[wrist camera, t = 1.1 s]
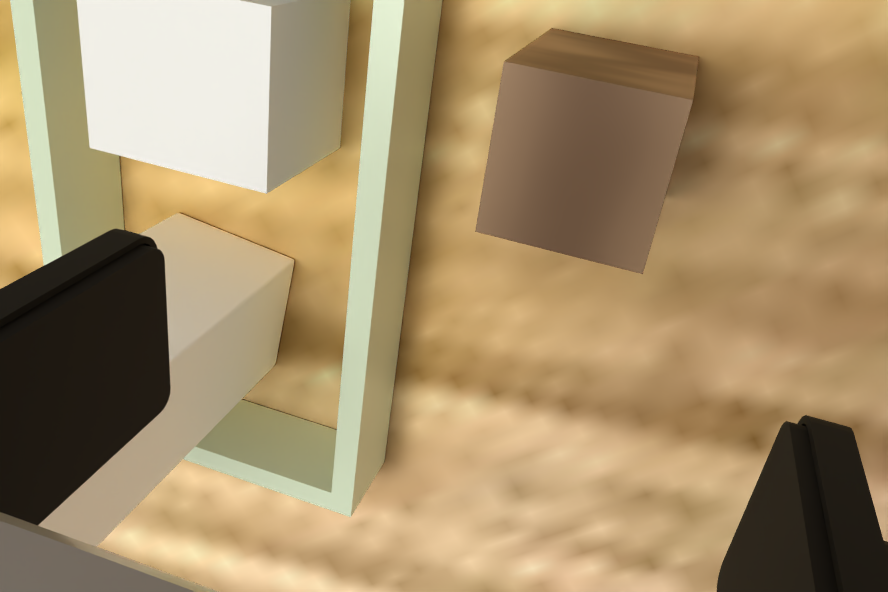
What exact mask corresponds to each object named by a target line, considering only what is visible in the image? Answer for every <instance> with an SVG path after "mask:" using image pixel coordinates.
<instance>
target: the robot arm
mask: <svg viewBox="0 0 888 592" xmlns="http://www.w3.org/2000/svg"><path fill="white" fill-rule="evenodd" d="M170 389H171V386H170V365H169V343H168V321H167V300H166V278H165V259H164V255H163V253H162V251H161V250H159V249H157V245H156V243H155V241H154V240H153V239H152V238H150V237H147V236H144V235H140V234H136V233H133V232H129V231H125V230H122V229H112V230H110V231H108V232H106V233H104V234H102V235H100V236H98V237H97V238H95V239H93V240H91V241H89V242H87V243H85V244H83V245H82V246H80V247H78V248H76V249H74V250H72V251H70V252H69V253H67V254H65V255H63V256H61V257H59V258H57V259H56V260H54V261H52V262H50V263H48V264H46V265H44V266H43V267H41V268H39V269H37V270H35V271H33V272H31V273H30V274H28V275H26V276H24V277H22V278H20V279H18V280H17V281H15V282H13V283H11V284H9V285H7V286H5V287H3V288H2V289H0V592H219V591H216V590H213V589H211V588H208V587H205V586H202V585H200V584H197V583H194V582H191V581H189V580H186V579H183V578H181V577H178V576H175V575H172V574H170V573H167V572H164V571H161V570H159V569H156V568H153V567H150V566H148V565H145V564H142V563H140V562H137V561H134V560H131V559H129V558H126V557H123V556H120V555H118V554H115V553H112V552H109V551H107V550H104V549H101V548H98V547H96V546H93V545H90V544H87V543H84V542H82V541H79V540H76V539H73V538H71V537H68V536H65V535H62V534H59V533H57V532H54V531H51V530H48V529H46V528H43V527H40V526H38V525H39V524H40V523H41V522H42V521H43V520H45V519H46V518H47V517H48V516H49V515H50V514H51V513H52V512H53V511H54V510H55V509H56V508H58V507H59V506H60V505H61V504H62V503H63V502H64V501H65V500H66V499H67V498H68V497H70V496H71V495H72V494H73V493H74V492H75V491H76V490H77V489H78V488H79V487H80V486H81V485H83V484H84V483H85V482H86V481H87V480H88V479H89V478H90V477H91V476H92V475H93V474H95V473H96V472H97V471H98V470H99V469H100V468H101V467H102V466H103V465H104V464H105V463H106V462H108V461H109V460H110V459H111V458H112V457H113V456H114V455H115V454H116V453H117V452H118V451H120V450H121V449H122V448H123V447H124V446H125V445H126V444H127V443H128V442H129V441H130V440H131V439H133V438H134V437H135V436H136V435H137V434H138V433H139V432H140V431H141V430H142V429H143V428H145V427H146V426H147V425H148V424H149V423H150V422H151V421H152V420H153V419H154V418H155V417H156V416H158V415H159V414H160V413H161V412H162V410H163V409H164V408H165V406H166V404H167V402H168V400H169V396H170ZM717 592H888V542H886V541H883V537H882V534H881V530H880V527H879V523H878V519H877V516H876V512H875V508H874V505H873V501H872V498H871V494H870V490H869V487H868V483H867V480H866V476H865V472H864V469H863V465H862V461H861V458H860V454H859V451H858V447H857V443H856V440H855V436H854V433H853V431H852V429H851V428H850V427H847V426H843V425H840V424H836V423H832V422H829V421H825V420H821V419H818V418H814V417H810V416H807V415H805V416H803V417H802V418H801V419H800V421H799V422H798V424H795V423H791V422H787V421H786V422H784V424H783V425H782V426H781V428H780V430H779V433H778V435H777V437H776V440H775V442H774V444H773V447H772V449H771V451H770V454H769V456H768V458H767V461H766V463H765V465H764V468H763V470H762V472H761V475H760V477H759V479H758V481H757V484H756V486H755V488H754V491H753V493H752V495H751V498H750V500H749V502H748V505H747V507H746V509H745V512H744V514H743V516H742V519H741V521H740V523H739V526H738V528H737V530H736V533H735V535H734V537H733V540H732V542H731V544H730V547H729V549H728V551H727V554H726V556H725V558H724V561H723V563H722V566H721V569H720V573H719V577H718V584H717Z"/></svg>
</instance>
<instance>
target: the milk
mask: <svg viewBox="0 0 888 592" xmlns="http://www.w3.org/2000/svg"><path fill="white" fill-rule="evenodd" d="M140 235H144V236H147V237H150V238H152V239H153V240H154V241H155V243H156V245H157V249H159V250H161V251H162V253H163V255H164V259H165V278H166V300H167V321H168V343H169V365H170V386H171V389H170V396H169V400H168V402H167V404H166V406H165V408H164V409H163V410H162V412H161V413H160V414H159V415H158V416H156V417H155V418H154V419H153V420H152V421H151V422H150V423H149V424H148V425H147V426H146V427H145V428H143V429H142V430H141V431H140V432H139V433H138V434H137V435H136V436H135V437H134V438H133V439H131V440H130V441H129V442H128V443H127V444H126V445H125V446H124V447H123V448H122V449H121V450H120V451H118V452H117V453H116V454H115V455H114V456H113V457H112V458H111V459H110V460H109V461H108V462H106V463H105V464H104V465H103V466H102V467H101V468H100V469H99V470H98V471H97V472H96V473H95V474H93V475H92V476H91V477H90V478H89V479H88V480H87V481H86V482H85V483H84V484H83V485H81V486H80V487H79V488H78V489H77V490H76V491H75V492H74V493H73V494H72V495H71V496H70V497H68V498H67V499H66V500H65V501H64V502H63V503H62V504H61V505H60V506H59V507H58V508H56V509H55V510H54V511H53V512H52V513H51V514H50V515H49V516H48V517H47V518H46V519H45V520H43V521H42V522H41V523H40V524H39V525H38V526H40V527H43V528H46V529H48V530H51V531H54V532H57V533H59V534H62V535H65V536H68V537H71V538H73V539H76V540H79V541H82V542H84V543H87V544H90V545H93V546H96V547H97V546H98V545H99V544H100V543H101V542H102V541H103V540H104V539H105V538H106V537H107V536H108V535H109V534H110V533H111V532H112V531H113V530H114V529H115V528H116V527H117V526H118V525H119V524H120V523H121V522H122V521H123V520H124V519H125V517H126V516H127V515H128V514H129V513H130V512H131V511H132V510H133V509H134V508H135V507H136V506H137V505H138V504H139V503H140V502H141V501H142V500H143V499H144V498H145V497H146V496H147V495H148V494H149V493H150V492H151V491H152V490H153V489H154V488H155V487H156V486H157V485H158V484H159V483H160V482H161V481H162V480H163V479H164V478H165V477H166V476H167V475H168V474H169V473H170V472H171V471H172V470H173V469H174V468H175V467H176V466H177V465H178V463H179V462H180V461H181V460H182V459H183V458H184V457H185V456H186V455H187V454H188V453H189V452H190V451H191V450H192V449H193V448H194V447H195V446H196V445H197V444H198V443H199V442H200V441H201V440H202V439H203V438H204V437H205V436H206V435H207V434H208V433H209V432H210V431H211V430H212V429H213V428H214V427H215V426H216V425H217V424H218V423H219V422H220V421H221V420H222V419H223V418H224V417H225V416H226V415H227V414H228V413H229V412H230V410H231V409H232V408H233V407H234V406H235V405H236V404H237V403H238V402H239V401H240V400H241V399H242V398H243V397H244V396H245V395H246V394H247V393H248V392H249V391H250V390H251V389H252V388H253V387H254V386H255V385H256V384H257V383H258V382H259V381H260V380H261V379H262V378H263V377H264V376H265V375H266V374H267V373H268V372H269V371H270V370H271V369H272V368H273V367H274V365H275V364H276V359H277V353H278V348H279V343H280V337H281V332H282V326H283V321H284V316H285V310H286V305H287V299H288V294H289V288H290V283H291V278H292V272H293V267H294V259H292V258H289V257H287V256H285V255H282V254H280V253H277V252H275V251H272V250H270V249H267V248H265V247H262V246H260V245H257V244H255V243H252V242H250V241H248V240H245V239H243V238H240V237H238V236H235V235H233V234H230V233H228V232H225V231H223V230H220V229H218V228H216V227H213V226H211V225H208V224H206V223H203V222H201V221H198V220H196V219H193V218H191V217H188V216H186V215H183V214H181V213H176V214H174V215H173V216H171V217H169V218H167V219H165V220H163V221H162V222H160V223H158V224H156V225H154V226H153V227H151V228H149V229H147V230H145V231H144V232H142V233H140Z"/></svg>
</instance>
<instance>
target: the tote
mask: <svg viewBox="0 0 888 592" xmlns="http://www.w3.org/2000/svg"><path fill="white" fill-rule="evenodd" d="M442 1H443V0H374V2H373V14H372V26H371V37H370V49H369V61H368V72H367V84H366V96H365V107H364V119H363V131H362V142H361V154H360V166H359V177H358V189H357V201H356V212H355V224H354V236H353V247H352V259H351V271H350V282H349V294H348V306H347V317H346V329H345V340H344V352H343V364H342V375H341V387H340V399H339V410H338V422H337V430H335V429H332V428H329V427H326V426H323V425H320V424H317V423H314V422H310V421H307V420H304V419H301V418H298V417H295V416H292V415H289V414H286V413H283V412H279V411H276V410H273V409H270V408H267V407H264V406H261V405H258V404H255V403H251V402H248V401H245V400H242V399H241V400H240V401H239V402H238V403H237V404H236V405H235V406H234V407H233V408H232V409H231V410H230V412H229V413H228V414H227V415H226V416H225V417H224V418H223V419H222V420H221V421H220V422H219V423H218V424H217V425H216V426H215V427H214V428H213V429H212V430H211V431H210V432H209V433H208V434H207V435H206V436H205V437H204V438H203V439H202V440H201V441H200V442H199V443H198V444H197V445H196V446H195V447H194V448H193V449H192V450H191V451H190V452H189V453H188V454H187V455H186V456H185V457H184V458H183V459H184V460H187V461H190V462H193V463H196V464H199V465H201V466H204V467H207V468H210V469H213V470H216V471H219V472H222V473H225V474H228V475H230V476H233V477H236V478H239V479H242V480H245V481H248V482H251V483H254V484H256V485H259V486H262V487H265V488H268V489H271V490H274V491H277V492H280V493H282V494H285V495H288V496H291V497H294V498H297V499H300V500H303V501H306V502H308V503H311V504H314V505H317V506H320V507H323V508H326V509H329V510H332V511H334V512H337V513H340V514H343V515H346V516H349V517H351V516H352V514H353V513H354V511H355V509H356V508H357V506H358V504H359V503H360V501H361V500H362V498H363V496H364V495H365V493H366V491H367V490H368V488H369V486H370V485H371V483H372V481H373V480H374V478H375V477H376V475H377V473H378V472H379V470H380V468H381V467H382V465H383V463H384V461H385V453H386V445H387V437H388V429H389V421H390V413H391V406H392V398H393V390H394V382H395V374H396V366H397V358H398V350H399V342H400V334H401V326H402V318H403V310H404V303H405V295H406V287H407V279H408V271H409V263H410V255H411V247H412V239H413V231H414V223H415V215H416V207H417V199H418V192H419V184H420V176H421V168H422V160H423V152H424V144H425V136H426V128H427V120H428V112H429V104H430V96H431V88H432V81H433V73H434V65H435V57H436V49H437V41H438V33H439V25H440V17H441V9H442ZM10 2H11V10H12V18H13V26H14V34H15V42H16V49H17V57H18V65H19V73H20V81H21V89H22V97H23V105H24V113H25V120H26V128H27V136H28V144H29V152H30V160H31V168H32V176H33V183H34V191H35V199H36V207H37V215H38V223H39V231H40V239H41V247H42V254H43V262H44V265H46V264H48V263H50V262H52V261H54V260H56V259H57V258H59V257H61V256H63V255H65V254H67V253H69V252H70V251H72V250H74V249H76V248H78V247H80V246H82V245H83V244H85V243H87V242H89V241H91V240H93V239H95V238H97V237H98V236H100V235H102V234H104V233H106V232H108V231H110V230H112V229H122V230H124V216H123V202H122V187H121V173H120V158H119V155H115V154H111V153H108V152H104V151H100V150H96V149H92V148H90V146H89V134H88V123H87V112H86V100H85V89H84V78H83V66H82V55H81V44H80V32H79V21H78V10H77V0H10Z"/></svg>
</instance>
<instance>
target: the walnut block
mask: <svg viewBox="0 0 888 592" xmlns="http://www.w3.org/2000/svg"><path fill="white" fill-rule="evenodd" d="M698 60H699V57H698V56H693V55H688V54H683V53H678V52H673V51H667V50H662V49H657V48H652V47H647V46H641V45H636V44H631V43H626V42H621V41H616V40H610V39H605V38H600V37H595V36H590V35H585V34H579V33H574V32H569V31H564V30H559V29H553V28H551V29H550V30H549V31H547V32H546V33H544V34H543V35H541V36H540V37H539V38H537V39H536V40H534V41H533V42H531V43H530V44H528V45H527V46H526V47H524V48H523V49H521V50H520V51H518V52H517V53H516V54H514V55H513V56H511V57H510V58H508V59H507V60H505V61H504V65H503V71H502V77H501V83H500V89H499V95H498V101H497V106H496V112H495V118H494V124H493V130H492V136H491V142H490V148H489V154H488V160H487V166H486V172H485V178H484V183H483V189H482V195H481V201H480V207H479V213H478V219H477V225H476V231H475V232H479V233H483V234H487V235H491V236H495V237H499V238H503V239H507V240H511V241H514V242H518V243H522V244H526V245H530V246H534V247H538V248H542V249H546V250H550V251H554V252H558V253H562V254H566V255H570V256H574V257H578V258H582V259H585V260H589V261H593V262H597V263H601V264H605V265H609V266H613V267H617V268H621V269H625V270H629V271H633V272H637V273H641V274H643V271H644V268H645V265H646V261H647V258H648V254H649V251H650V247H651V244H652V240H653V237H654V234H655V230H656V227H657V223H658V220H659V216H660V213H661V209H662V206H663V203H664V199H665V196H666V192H667V189H668V185H669V182H670V178H671V175H672V172H673V168H674V165H675V161H676V158H677V154H678V151H679V147H680V144H681V141H682V137H683V134H684V130H685V127H686V123H687V120H688V116H689V113H690V110H691V106H692V103H693V98H694V91H695V83H696V75H697V68H698Z"/></svg>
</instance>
